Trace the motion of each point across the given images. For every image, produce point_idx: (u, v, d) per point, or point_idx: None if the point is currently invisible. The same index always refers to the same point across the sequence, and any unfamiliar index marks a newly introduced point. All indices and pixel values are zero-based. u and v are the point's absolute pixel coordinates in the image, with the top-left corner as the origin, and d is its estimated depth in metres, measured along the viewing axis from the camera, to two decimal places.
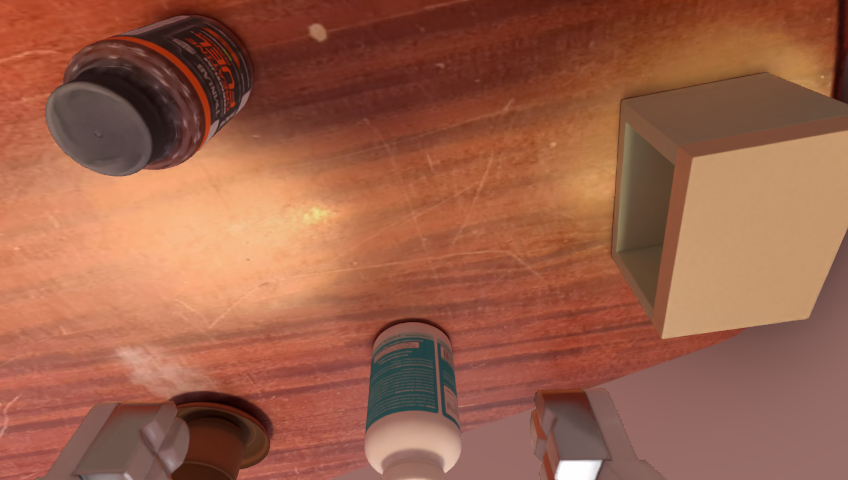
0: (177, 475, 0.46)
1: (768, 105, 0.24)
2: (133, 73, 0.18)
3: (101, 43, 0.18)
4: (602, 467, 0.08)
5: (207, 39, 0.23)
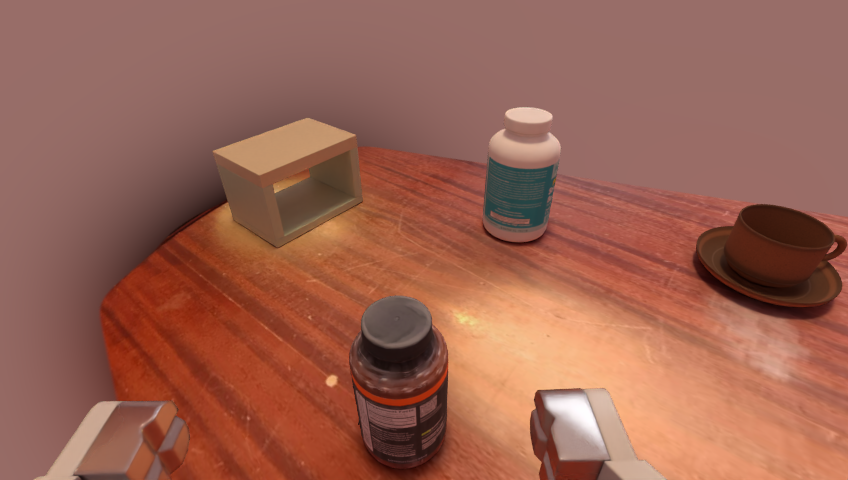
0: (822, 246, 0.41)
1: (236, 192, 0.49)
2: (360, 345, 0.25)
3: (360, 380, 0.25)
4: (602, 467, 0.08)
5: None
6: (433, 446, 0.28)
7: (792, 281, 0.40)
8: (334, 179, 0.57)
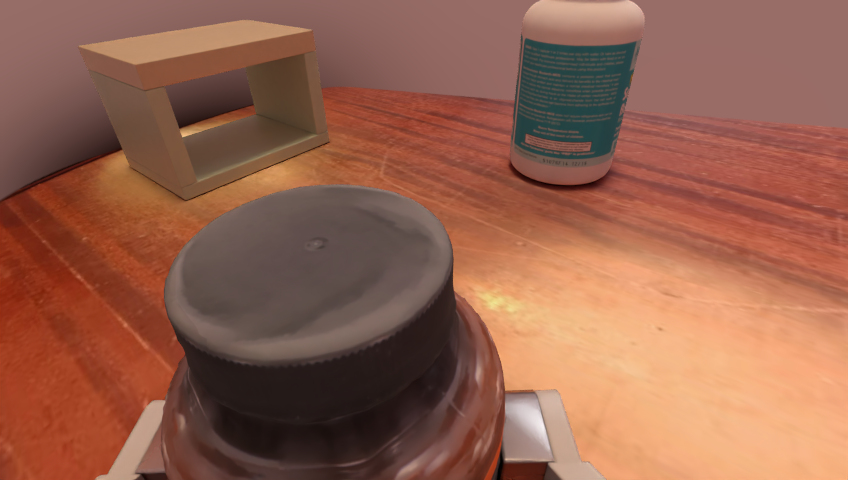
0: None
1: (120, 114, 0.31)
2: None
3: None
4: (546, 468, 0.08)
5: None
6: None
7: None
8: (287, 110, 0.38)
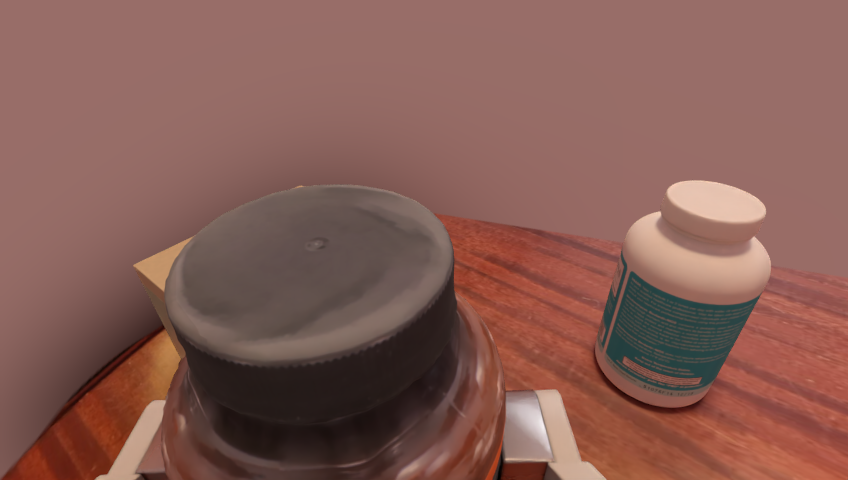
0: None
1: None
2: None
3: None
4: (546, 469, 0.08)
5: None
6: None
7: None
8: None
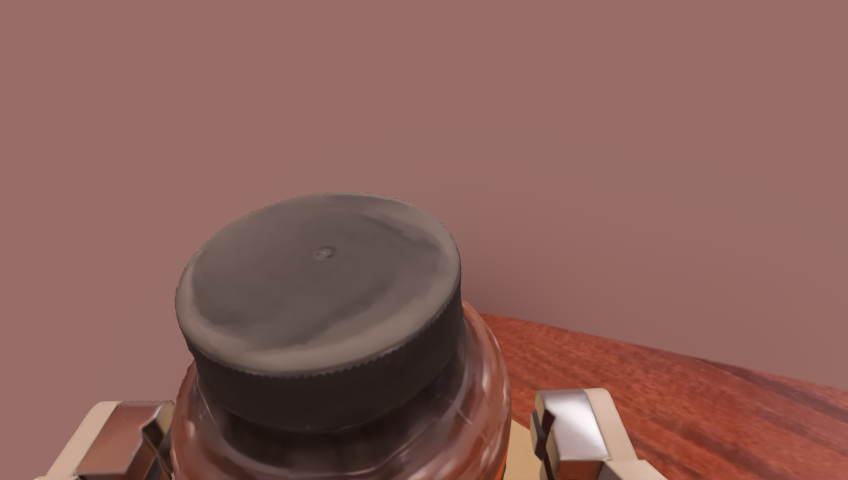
0: None
1: None
2: None
3: None
4: (602, 467, 0.08)
5: None
6: None
7: None
8: None
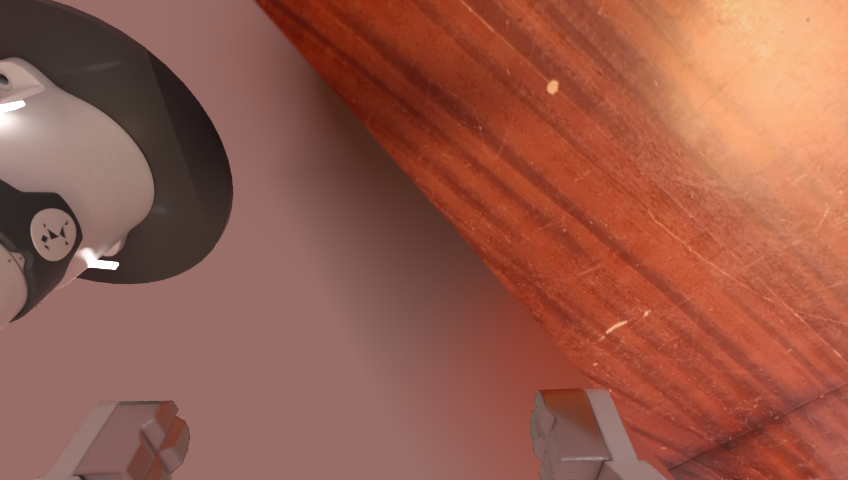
0: None
1: None
2: None
3: None
4: (602, 467, 0.08)
5: None
6: None
7: None
8: None
